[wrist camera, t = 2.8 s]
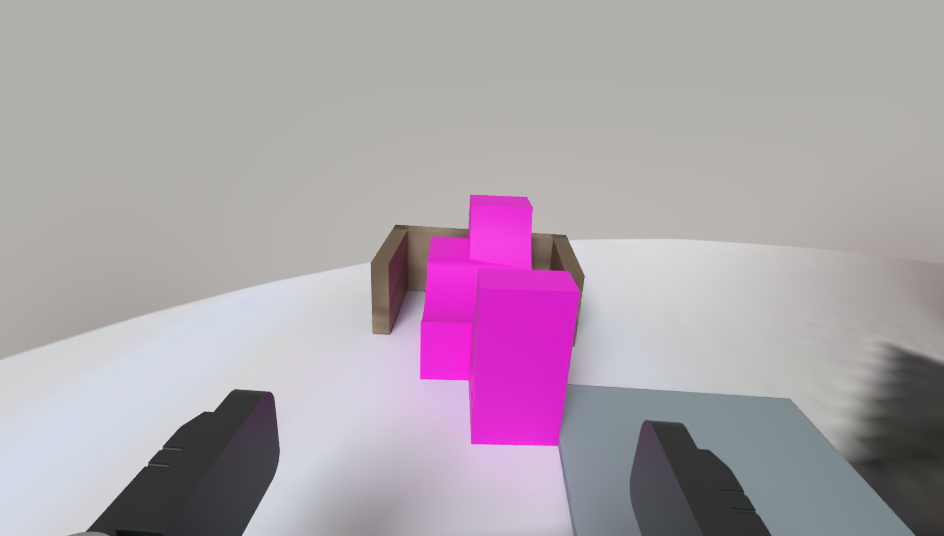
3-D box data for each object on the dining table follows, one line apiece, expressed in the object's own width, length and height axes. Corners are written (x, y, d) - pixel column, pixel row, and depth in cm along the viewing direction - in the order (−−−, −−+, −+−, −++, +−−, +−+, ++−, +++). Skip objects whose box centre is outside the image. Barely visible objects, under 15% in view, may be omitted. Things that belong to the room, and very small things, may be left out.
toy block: (430, 296, 35) (432, 193, 32) (517, 299, 35) (526, 197, 32) (412, 446, 21) (413, 286, 18) (557, 449, 21) (579, 291, 18)
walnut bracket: (558, 293, 36) (565, 235, 34) (574, 346, 29) (584, 276, 27) (395, 283, 36) (395, 224, 34) (372, 333, 29) (370, 263, 27)
